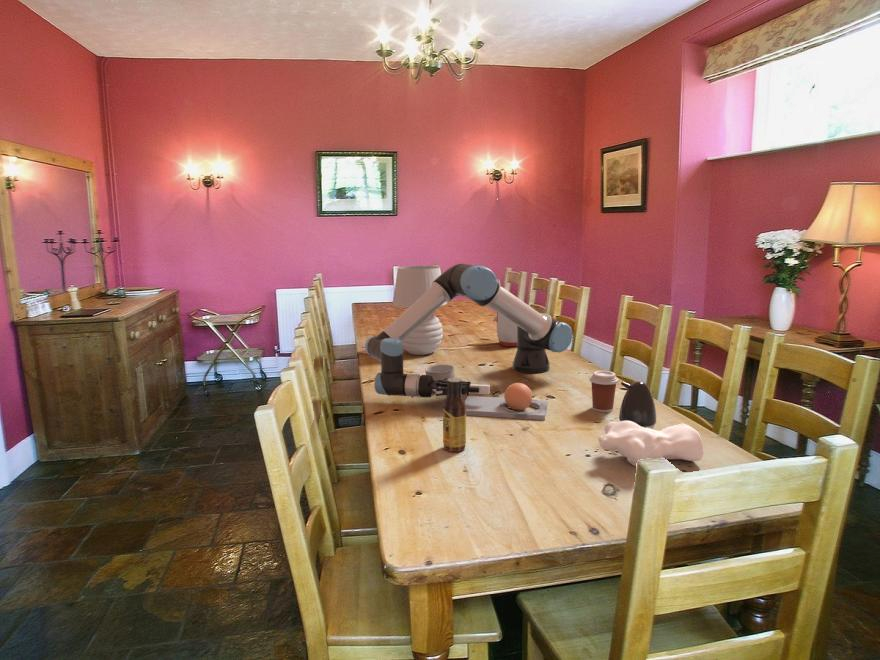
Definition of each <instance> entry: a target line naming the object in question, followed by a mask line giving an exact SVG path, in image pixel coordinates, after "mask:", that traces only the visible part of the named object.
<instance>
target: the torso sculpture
mask: <svg viewBox="0 0 880 660" xmlns="http://www.w3.org/2000/svg"><path fill="white" fill-rule="evenodd" d="M604 432H605V434H604V435H599V436H598V437H597V438H598V442H599V445H600V447H601V448H602V449H603V450H606V451H613V450H616V451H617V452H618V454H619V455H621V457H623V458H625V459H626V460H627V462H628V463H630V464H631V465H633V466H634V467H636V463H637V461H638V460H640V459H647V458H661V457H663V458H666V459H665V460H683V461H689V462H699V461H701V460H703V457H704V450H703V449H704V444H703V439H702V437H701V435H700V433H699V432H698V431H697V430H696V429H694V428H693V427H692V426H690V425H689V424H685V423H683V422H682V423H678V424H675V425H670V426H666V427H664V428H663V429H660V430H656V429H654V428H653V429H651V428H644V427H641V426H639V425H638V424H636V423H635V422H632V421H620V420H619V421H614V420H613V421H610V422H608V423H606V424H605V426H604Z"/></svg>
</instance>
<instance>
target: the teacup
mask: <svg viewBox="0 0 880 660" xmlns="http://www.w3.org/2000/svg"><path fill="white" fill-rule="evenodd" d="M424 370H425V375H431V376H432V377H433V380H434V381H438V380H443V381H444V379H445V378H446V379H449V378H456V377H455V366H454V365H451V364H445V363H444V364H443V363H438V364H434V365H430V366H427V367H426V368H425V369H424Z"/></svg>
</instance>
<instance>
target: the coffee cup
mask: <svg viewBox="0 0 880 660" xmlns="http://www.w3.org/2000/svg"><path fill="white" fill-rule="evenodd" d="M588 378H589V380H588V381H589V382H590V383H591V398H592V400H591V401H592V402H591V403H592V409H593V410H594V411H596V412H599V413H611V412H613V411H614V404H615V395H616V388H617V384H618V383H619V382H620V381H619V378H618V377H617V376H616V373H615V372H613V371H611V370H610V371H608V370H596V371H593V372H592V375H590V377H588Z"/></svg>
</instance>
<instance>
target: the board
mask: <svg viewBox="0 0 880 660" xmlns="http://www.w3.org/2000/svg"><path fill="white" fill-rule="evenodd" d="M464 401H465V404H466V416H475V417H477V416H478V417H494V418H497V417H498V418H508V419H510V418H511V419H520V420H521V419H525V420H535V421H536V420H538V421H539V420H540V421H545V420H546V415H547V410H548V400H546V399H545V400H543V399H532V401H531V404H530V405H529V406H528V407H532V408H536V410H533V411H532V410H531V411H517V410H513V409H509V408H510V407H509V406H508V405H507V404H506V402H505V398H504V397H496V396H495V397H493V396H473V395H469V396H467V397H466V398H465V399H464Z"/></svg>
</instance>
